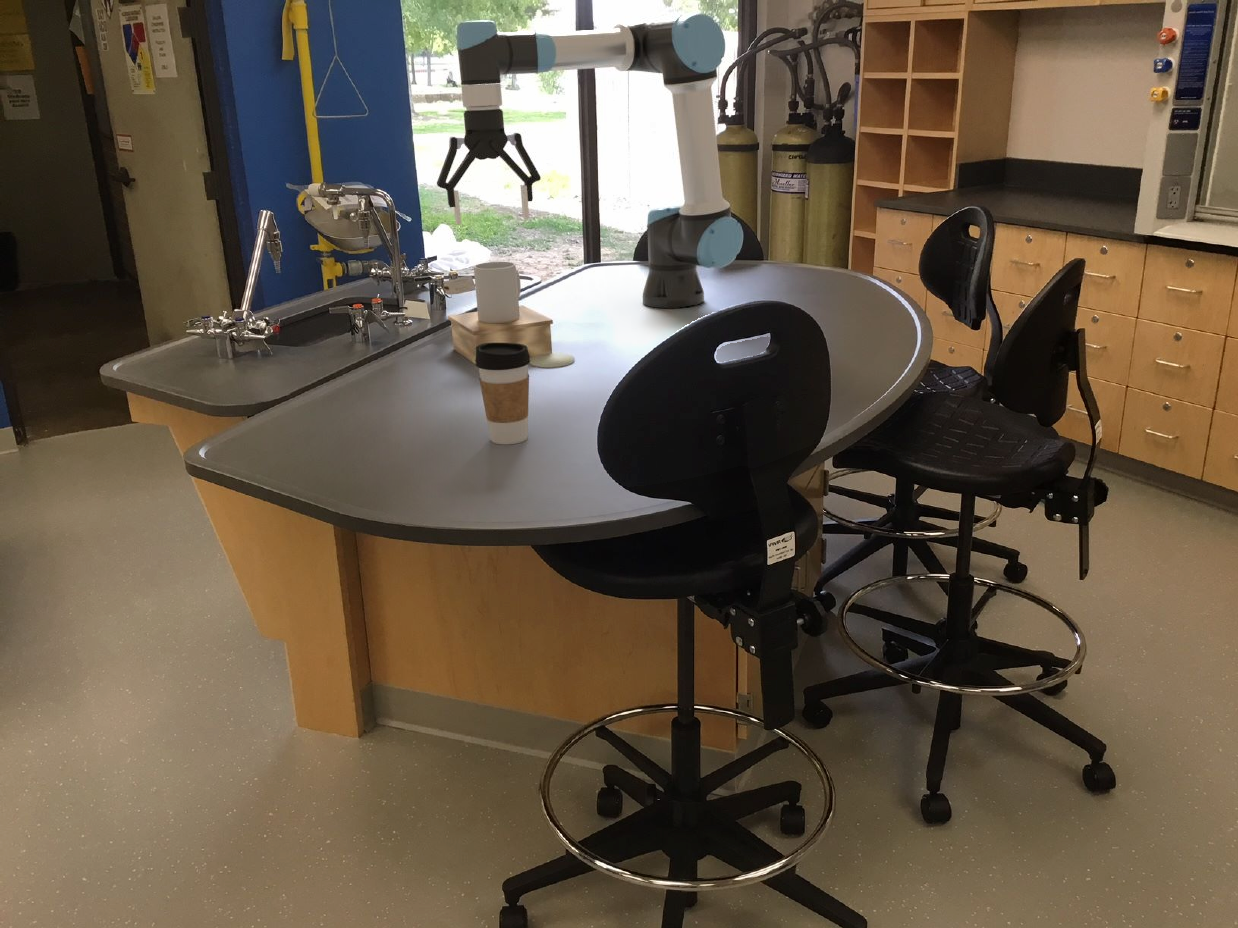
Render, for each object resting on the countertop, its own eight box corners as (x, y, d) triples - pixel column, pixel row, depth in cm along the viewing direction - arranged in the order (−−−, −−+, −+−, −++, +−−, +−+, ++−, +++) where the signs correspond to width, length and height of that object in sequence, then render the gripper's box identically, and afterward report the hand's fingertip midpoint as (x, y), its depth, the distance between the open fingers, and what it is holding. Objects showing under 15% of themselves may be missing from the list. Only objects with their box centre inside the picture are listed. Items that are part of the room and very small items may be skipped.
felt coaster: (568, 353, 207) (568, 351, 207) (579, 364, 199) (579, 362, 199) (525, 358, 205) (525, 356, 205) (534, 369, 197) (534, 367, 197)
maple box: (525, 337, 221) (523, 305, 219) (555, 354, 207) (553, 319, 204) (451, 349, 215) (448, 315, 212) (476, 367, 200) (473, 331, 198)
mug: (504, 325, 202) (499, 270, 198) (469, 321, 206) (464, 267, 202) (537, 312, 211) (533, 259, 207) (503, 309, 215) (499, 257, 211)
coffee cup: (483, 431, 164) (475, 341, 158) (535, 428, 164) (529, 337, 159) (481, 449, 156) (472, 354, 150) (536, 445, 156) (529, 351, 151)
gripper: (542, 105, 200) (549, 214, 208) (415, 111, 194) (427, 224, 202) (550, 105, 194) (557, 218, 201) (419, 112, 187) (431, 228, 195)
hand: (492, 221), depth 202 cm, fingers open, 13 cm apart
